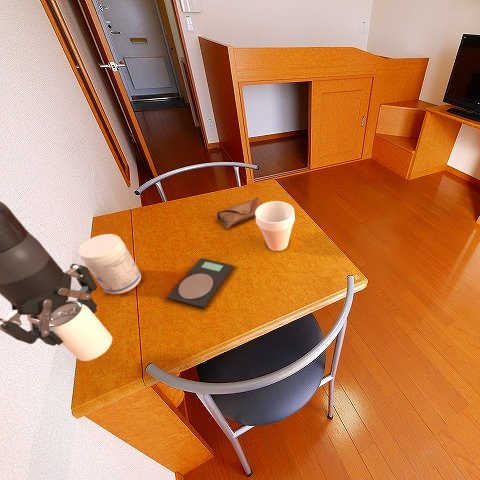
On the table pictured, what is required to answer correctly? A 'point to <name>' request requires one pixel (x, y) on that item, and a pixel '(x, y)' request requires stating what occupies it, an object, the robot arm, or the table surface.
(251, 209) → the sunglasses case
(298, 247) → the table surface
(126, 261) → the supplement tub
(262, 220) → the cup
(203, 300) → the scale
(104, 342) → the can
